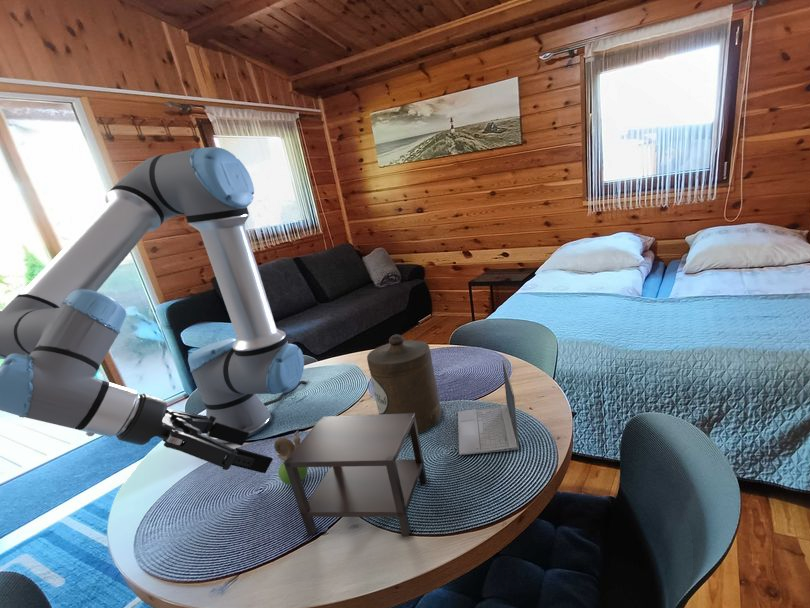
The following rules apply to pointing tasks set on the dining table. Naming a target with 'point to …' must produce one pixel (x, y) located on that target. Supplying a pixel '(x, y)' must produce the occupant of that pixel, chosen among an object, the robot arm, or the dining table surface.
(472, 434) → the laptop
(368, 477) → the rack
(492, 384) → the dining table surface
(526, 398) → the dining table surface
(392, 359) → the wooden container
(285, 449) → the snail figurine
